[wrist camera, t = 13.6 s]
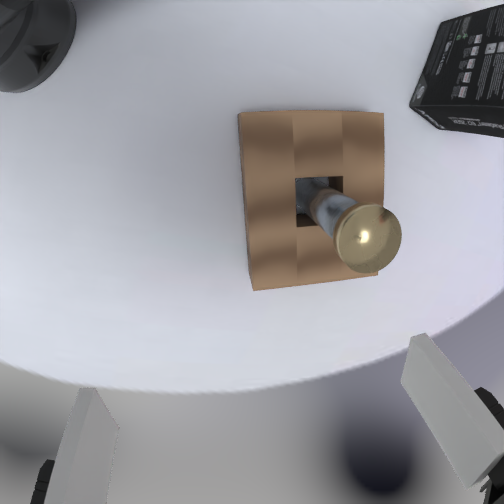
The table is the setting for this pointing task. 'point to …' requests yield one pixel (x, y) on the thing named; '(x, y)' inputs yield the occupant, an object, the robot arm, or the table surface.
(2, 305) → the table surface
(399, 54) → the table surface
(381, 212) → the pin
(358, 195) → the hole block
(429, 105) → the graphics card box
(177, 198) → the table surface
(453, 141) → the table surface
